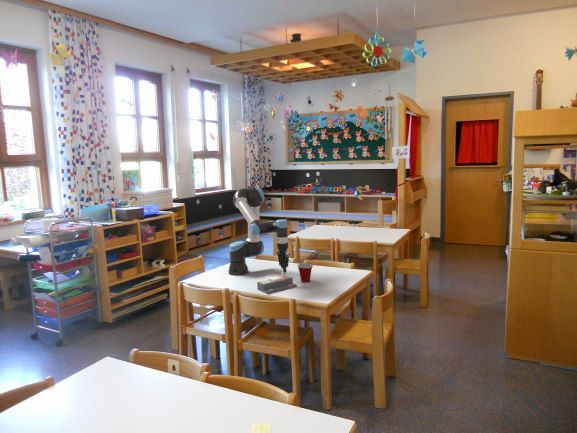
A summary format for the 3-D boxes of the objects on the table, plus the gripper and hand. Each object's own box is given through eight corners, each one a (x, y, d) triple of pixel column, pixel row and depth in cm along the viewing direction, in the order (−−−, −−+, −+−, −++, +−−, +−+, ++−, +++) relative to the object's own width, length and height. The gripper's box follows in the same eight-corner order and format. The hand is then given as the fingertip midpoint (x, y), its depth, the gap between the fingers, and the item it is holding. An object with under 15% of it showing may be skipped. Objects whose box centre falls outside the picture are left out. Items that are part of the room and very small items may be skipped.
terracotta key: (278, 281, 299) (278, 277, 299) (285, 279, 302) (285, 275, 302) (283, 283, 294) (282, 279, 294) (290, 281, 297) (290, 277, 297)
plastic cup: (310, 284, 297) (309, 267, 295) (295, 283, 302) (294, 266, 300) (315, 280, 307) (315, 263, 305) (301, 278, 312) (301, 262, 310)
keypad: (257, 289, 292) (257, 282, 291) (286, 282, 304) (286, 275, 303) (267, 294, 281) (266, 286, 281) (296, 286, 294) (296, 279, 293)
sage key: (259, 285, 291) (259, 281, 291) (267, 284, 294) (267, 279, 294) (264, 288, 286) (263, 283, 286) (271, 286, 289) (271, 281, 289)
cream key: (269, 282, 295) (268, 278, 295) (276, 280, 298) (276, 276, 298) (273, 284, 290) (273, 279, 290) (281, 282, 293) (281, 278, 293)
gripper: (272, 242, 298) (274, 275, 301) (283, 245, 287) (284, 279, 290) (282, 240, 302) (283, 273, 305) (292, 243, 291) (294, 277, 294)
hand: (284, 276), depth 298 cm, fingers closed
